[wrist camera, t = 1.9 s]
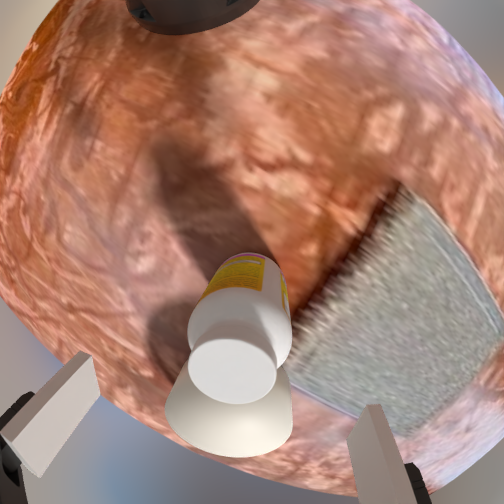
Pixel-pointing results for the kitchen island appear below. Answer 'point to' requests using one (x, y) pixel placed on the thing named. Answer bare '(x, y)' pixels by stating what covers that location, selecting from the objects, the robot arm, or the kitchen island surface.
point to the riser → (230, 418)
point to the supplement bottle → (240, 330)
